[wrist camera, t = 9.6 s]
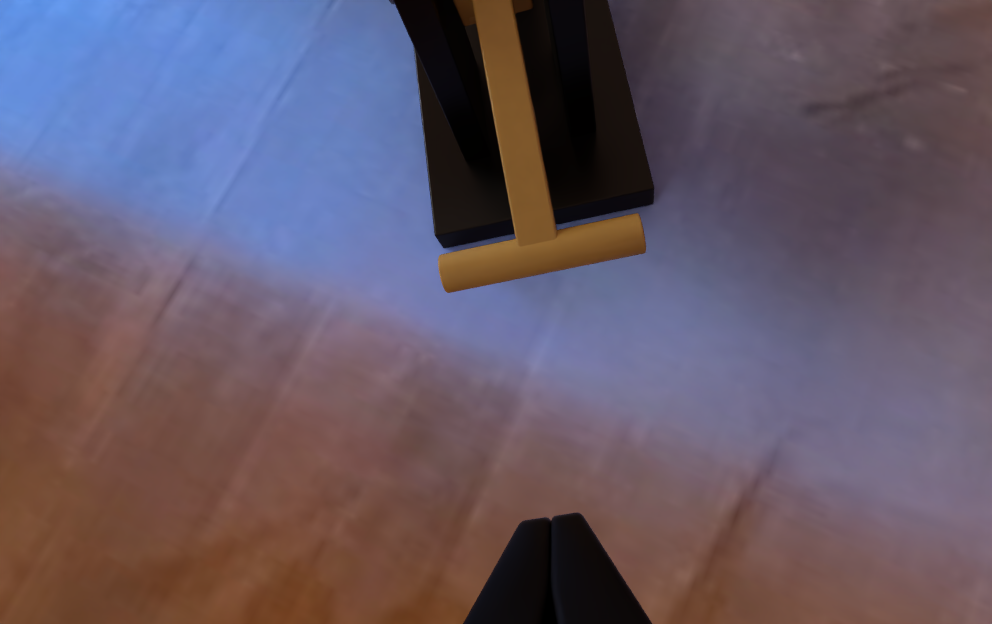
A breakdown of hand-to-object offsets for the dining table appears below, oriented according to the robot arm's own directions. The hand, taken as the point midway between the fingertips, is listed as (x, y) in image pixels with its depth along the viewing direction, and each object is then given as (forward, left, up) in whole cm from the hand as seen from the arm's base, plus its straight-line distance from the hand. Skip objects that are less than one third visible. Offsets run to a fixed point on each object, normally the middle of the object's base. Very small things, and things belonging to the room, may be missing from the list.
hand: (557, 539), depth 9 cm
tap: (+11, -12, -13) cm, 21 cm away
